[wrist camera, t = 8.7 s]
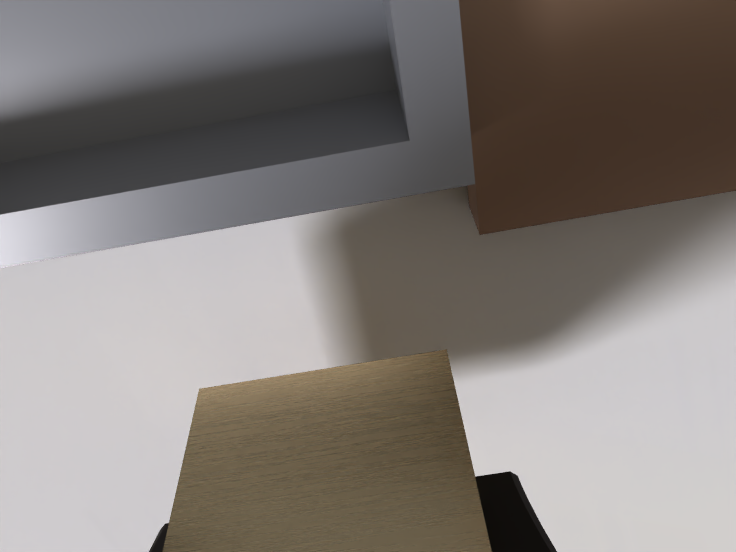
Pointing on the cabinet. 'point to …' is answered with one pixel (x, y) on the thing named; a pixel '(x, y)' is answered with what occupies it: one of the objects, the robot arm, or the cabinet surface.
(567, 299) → the cabinet surface
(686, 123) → the crank base
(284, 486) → the stop block
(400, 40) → the tray
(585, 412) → the cabinet surface
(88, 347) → the cabinet surface
